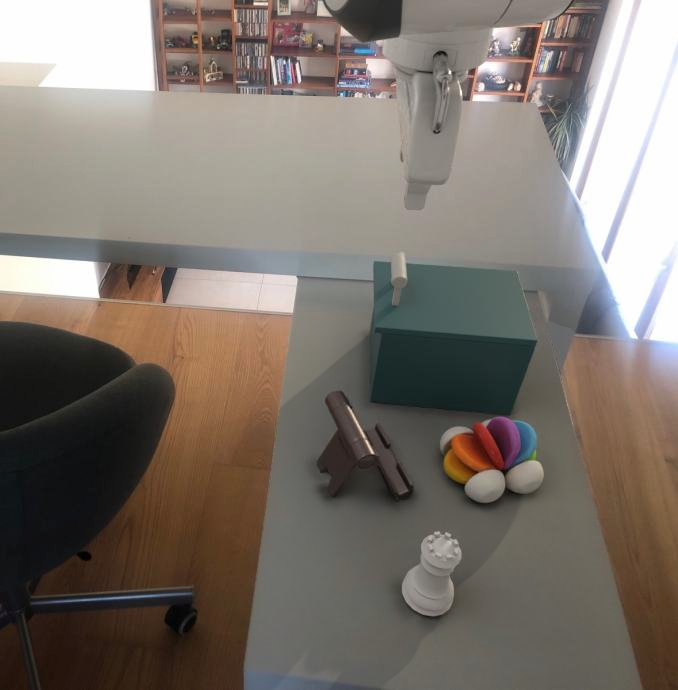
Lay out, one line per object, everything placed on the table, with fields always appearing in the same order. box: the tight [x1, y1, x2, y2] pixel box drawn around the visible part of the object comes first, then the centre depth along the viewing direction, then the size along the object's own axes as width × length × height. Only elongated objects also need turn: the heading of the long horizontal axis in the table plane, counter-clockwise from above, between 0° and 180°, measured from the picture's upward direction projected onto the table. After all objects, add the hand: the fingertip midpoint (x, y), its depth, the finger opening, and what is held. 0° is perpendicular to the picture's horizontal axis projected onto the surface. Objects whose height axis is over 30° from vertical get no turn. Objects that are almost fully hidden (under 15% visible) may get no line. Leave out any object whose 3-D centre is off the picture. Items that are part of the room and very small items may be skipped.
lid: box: [372, 250, 539, 347], centre depth 76 cm, size 16×13×5 cm
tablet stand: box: [316, 390, 414, 501], centre depth 70 cm, size 9×8×8 cm
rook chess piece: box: [401, 530, 463, 617], centre depth 59 cm, size 4×4×8 cm
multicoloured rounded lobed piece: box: [439, 416, 545, 504], centre depth 70 cm, size 8×10×7 cm
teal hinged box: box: [369, 307, 536, 416], centre depth 80 cm, size 16×13×10 cm
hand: (410, 182), depth 68 cm, fingers open, 8 cm apart
